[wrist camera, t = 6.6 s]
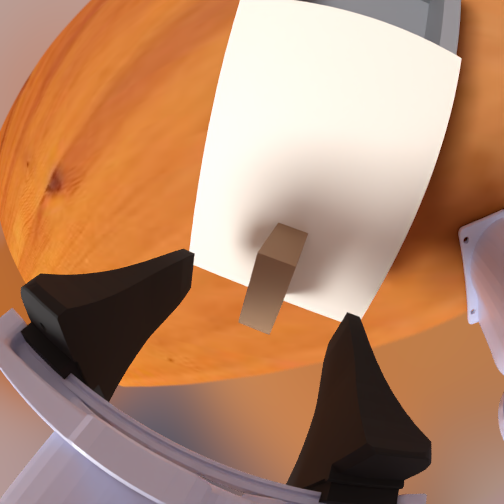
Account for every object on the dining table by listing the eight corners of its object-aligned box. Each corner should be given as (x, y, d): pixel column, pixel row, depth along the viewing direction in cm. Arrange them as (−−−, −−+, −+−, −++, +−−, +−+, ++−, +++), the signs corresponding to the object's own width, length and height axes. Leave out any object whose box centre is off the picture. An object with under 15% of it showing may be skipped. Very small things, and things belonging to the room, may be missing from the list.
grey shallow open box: (291, -38, 10) (273, -72, 6) (439, 4, 8) (460, -23, 4) (242, 145, 18) (211, 153, 14) (392, 196, 16) (406, 220, 12)
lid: (245, -1, 9) (210, -33, 6) (457, 60, 7) (493, 42, 4) (192, 258, 17) (156, 292, 14) (356, 320, 15) (353, 371, 12)
